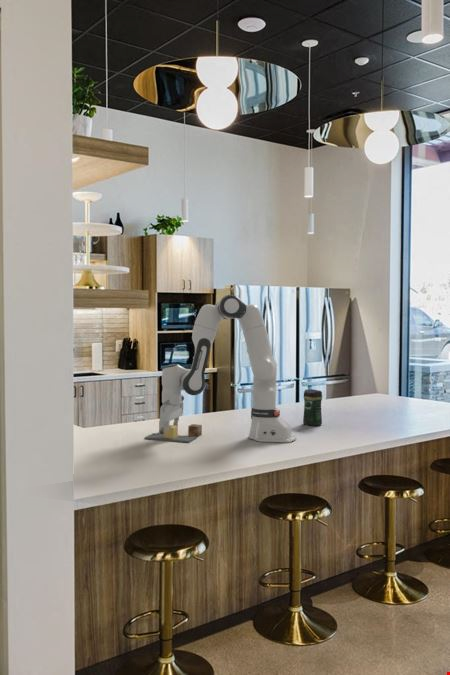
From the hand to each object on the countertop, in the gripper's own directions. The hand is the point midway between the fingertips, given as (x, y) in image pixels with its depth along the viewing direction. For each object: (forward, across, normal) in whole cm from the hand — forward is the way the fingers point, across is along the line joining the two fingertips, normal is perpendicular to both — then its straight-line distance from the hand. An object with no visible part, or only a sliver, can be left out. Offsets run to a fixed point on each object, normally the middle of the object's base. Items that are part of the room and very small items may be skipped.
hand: (171, 428), depth 301 cm
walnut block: (+5, +11, -8) cm, 14 cm away
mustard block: (+4, 0, +1) cm, 4 cm away
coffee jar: (+6, +59, -56) cm, 81 cm away
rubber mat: (+5, 0, +1) cm, 5 cm away
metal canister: (+5, +11, +8) cm, 15 cm away
